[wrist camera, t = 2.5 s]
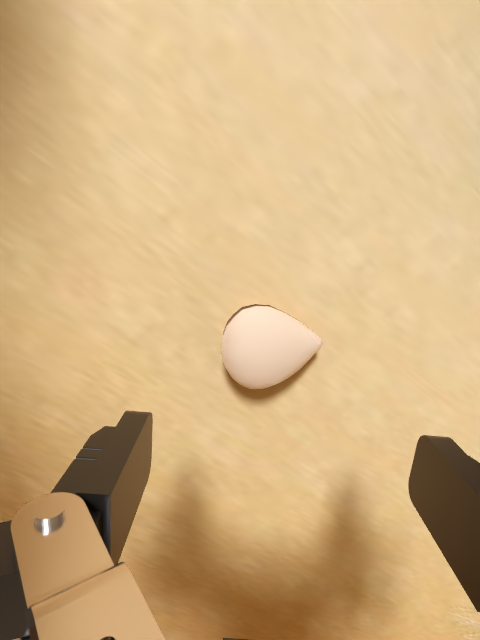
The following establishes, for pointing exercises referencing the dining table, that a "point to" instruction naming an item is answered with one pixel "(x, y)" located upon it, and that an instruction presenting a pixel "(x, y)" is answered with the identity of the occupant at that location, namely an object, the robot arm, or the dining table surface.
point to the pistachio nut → (265, 346)
